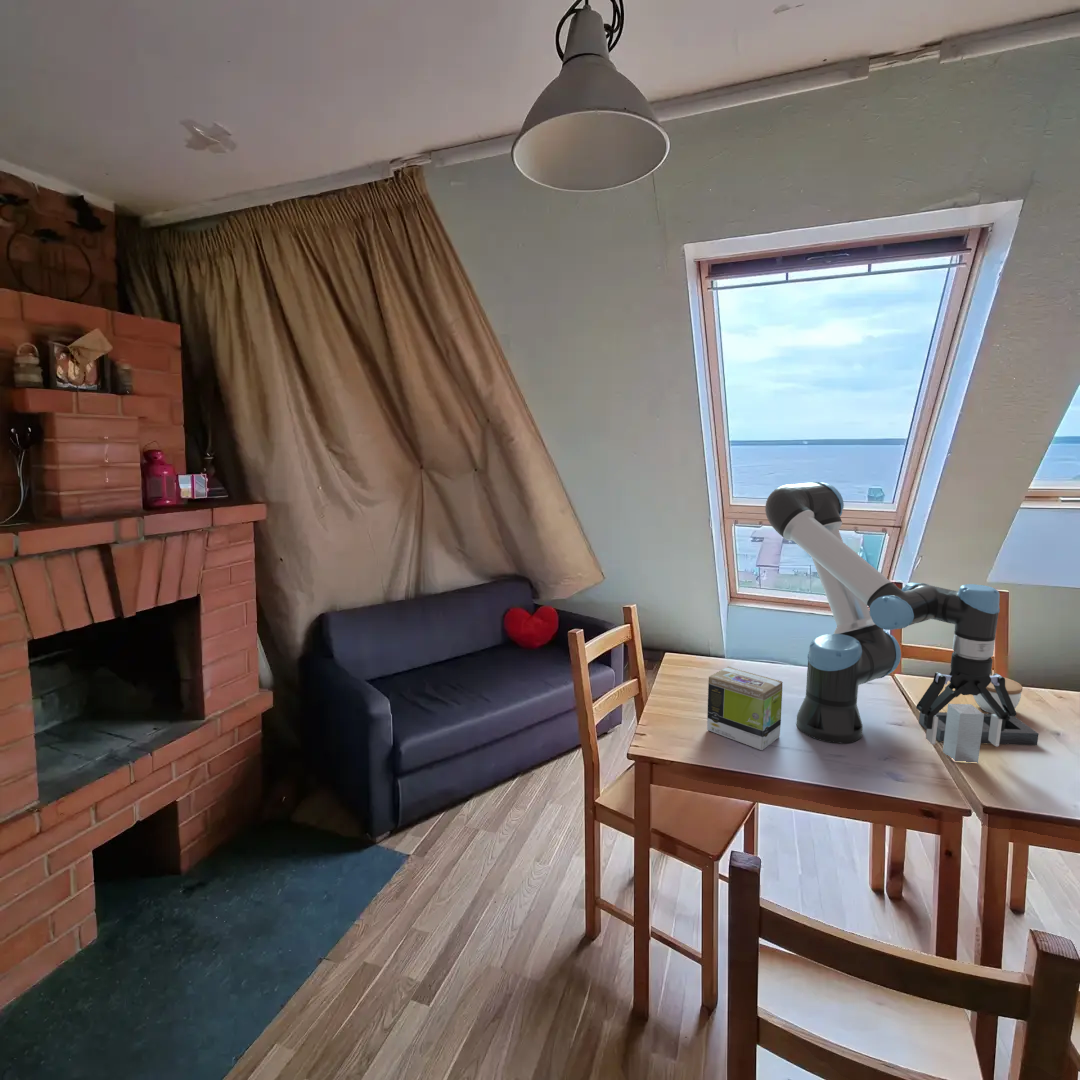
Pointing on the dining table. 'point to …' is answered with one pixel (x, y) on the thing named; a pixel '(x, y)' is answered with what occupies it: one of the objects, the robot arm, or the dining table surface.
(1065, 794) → the dining table surface
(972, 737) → the solid steel block
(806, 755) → the dining table surface
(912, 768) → the dining table surface
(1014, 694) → the lidded jar
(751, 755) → the dining table surface
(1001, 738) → the dark grey flat frame
